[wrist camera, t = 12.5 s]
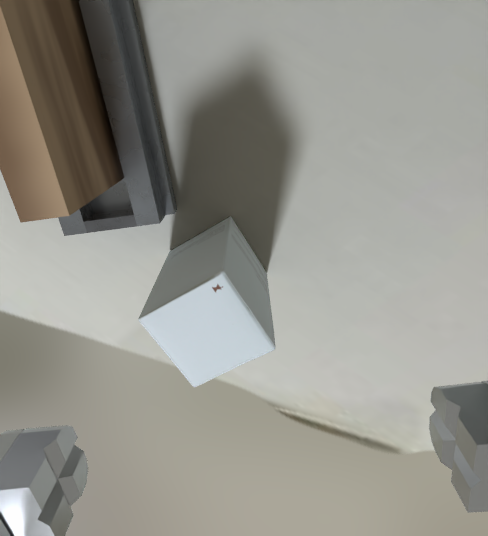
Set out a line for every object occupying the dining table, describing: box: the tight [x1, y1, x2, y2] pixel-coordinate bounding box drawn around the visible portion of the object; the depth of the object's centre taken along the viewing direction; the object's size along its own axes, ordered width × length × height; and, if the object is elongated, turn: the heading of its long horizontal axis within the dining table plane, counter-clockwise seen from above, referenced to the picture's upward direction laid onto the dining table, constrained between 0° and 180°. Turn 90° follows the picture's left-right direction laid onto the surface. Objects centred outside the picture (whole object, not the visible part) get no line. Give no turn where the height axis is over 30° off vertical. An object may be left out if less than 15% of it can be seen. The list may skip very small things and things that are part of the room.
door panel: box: [0, 0, 124, 222], centre depth 26 cm, size 3×14×12 cm, turn 8°
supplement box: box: [138, 217, 275, 387], centre depth 33 cm, size 7×7×13 cm
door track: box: [58, 0, 177, 236], centre depth 31 cm, size 10×22×4 cm, turn 8°
